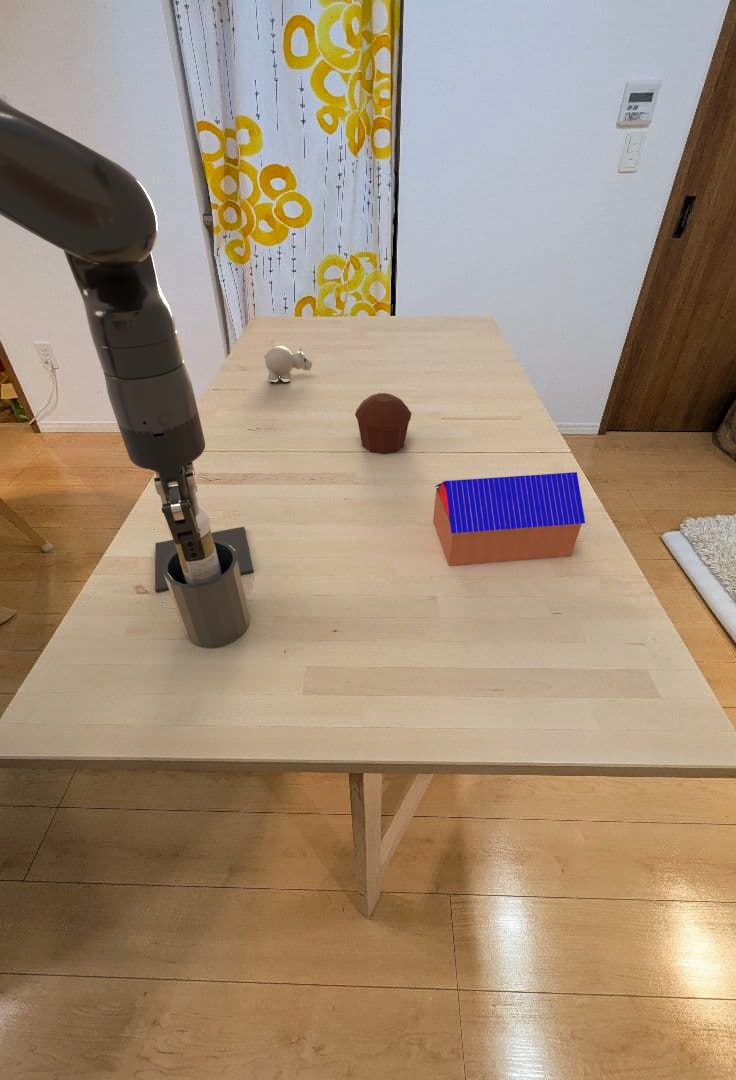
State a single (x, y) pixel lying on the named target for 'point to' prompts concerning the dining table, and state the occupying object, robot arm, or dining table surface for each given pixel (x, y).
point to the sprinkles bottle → (206, 567)
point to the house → (508, 518)
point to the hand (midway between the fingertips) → (194, 544)
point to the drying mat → (230, 536)
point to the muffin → (383, 423)
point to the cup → (210, 601)
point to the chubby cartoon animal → (285, 362)
